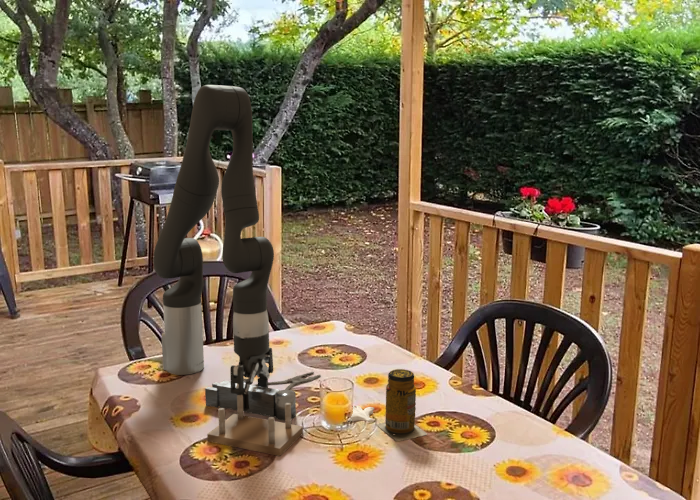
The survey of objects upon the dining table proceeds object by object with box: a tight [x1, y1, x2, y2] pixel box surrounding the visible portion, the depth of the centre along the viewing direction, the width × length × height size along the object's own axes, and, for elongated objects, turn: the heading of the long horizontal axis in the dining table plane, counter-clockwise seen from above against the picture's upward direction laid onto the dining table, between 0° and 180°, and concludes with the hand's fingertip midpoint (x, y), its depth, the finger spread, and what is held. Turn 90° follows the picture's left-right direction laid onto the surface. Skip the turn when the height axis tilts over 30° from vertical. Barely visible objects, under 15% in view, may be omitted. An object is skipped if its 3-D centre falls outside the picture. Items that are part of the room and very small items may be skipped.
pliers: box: [253, 371, 322, 390], centre depth 162 cm, size 10×1×20 cm
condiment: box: [376, 368, 428, 442], centre depth 138 cm, size 7×8×12 cm
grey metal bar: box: [204, 380, 297, 421], centre depth 148 cm, size 21×4×5 cm, turn 68°
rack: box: [206, 395, 304, 457], centre depth 135 cm, size 16×10×6 cm, turn 68°
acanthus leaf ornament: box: [351, 404, 375, 423], centre depth 145 cm, size 8×7×2 cm
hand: (253, 402), depth 148 cm, fingers open, 8 cm apart
